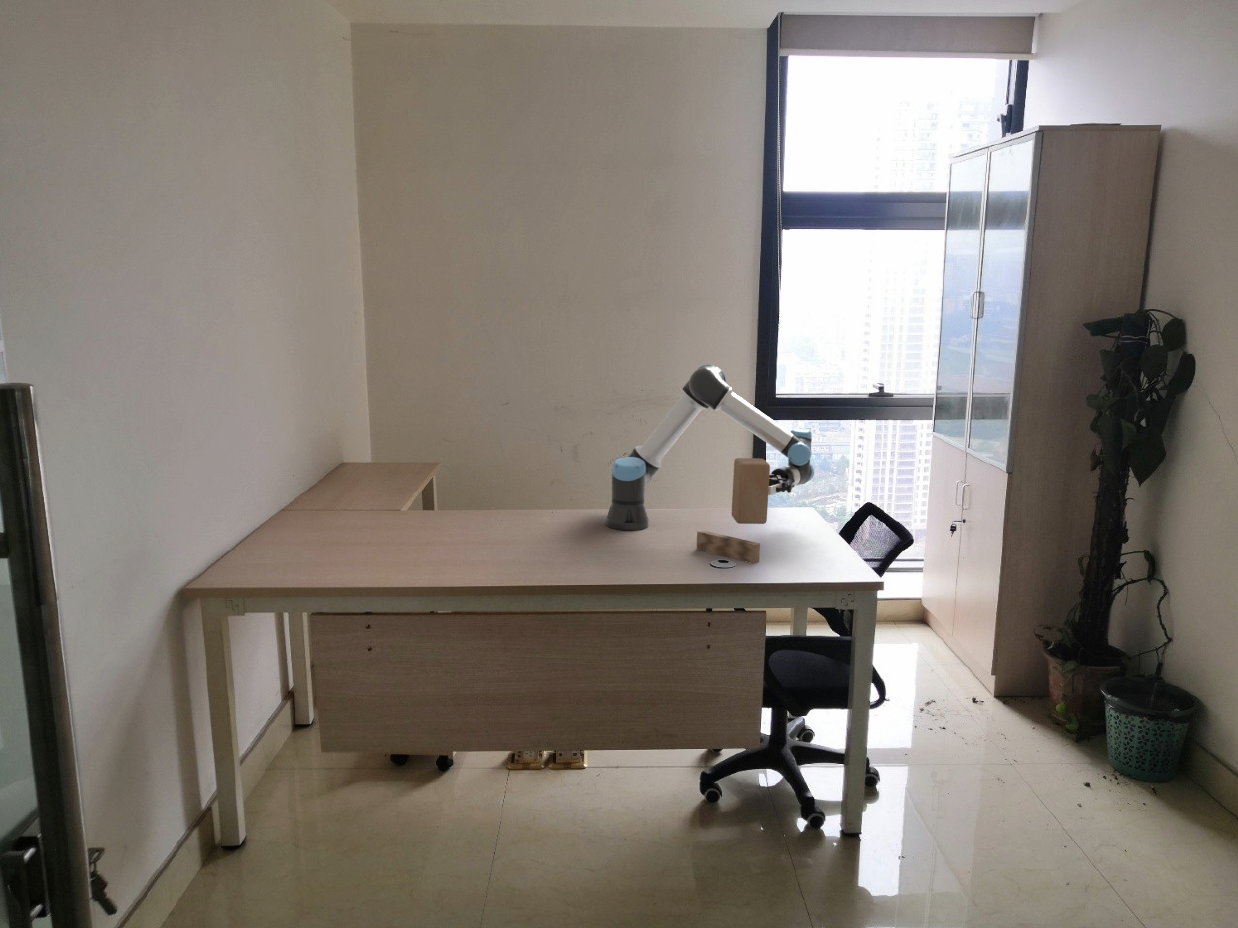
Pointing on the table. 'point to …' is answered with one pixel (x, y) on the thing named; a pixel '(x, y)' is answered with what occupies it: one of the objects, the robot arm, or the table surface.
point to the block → (750, 490)
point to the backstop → (728, 546)
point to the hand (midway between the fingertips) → (751, 487)
